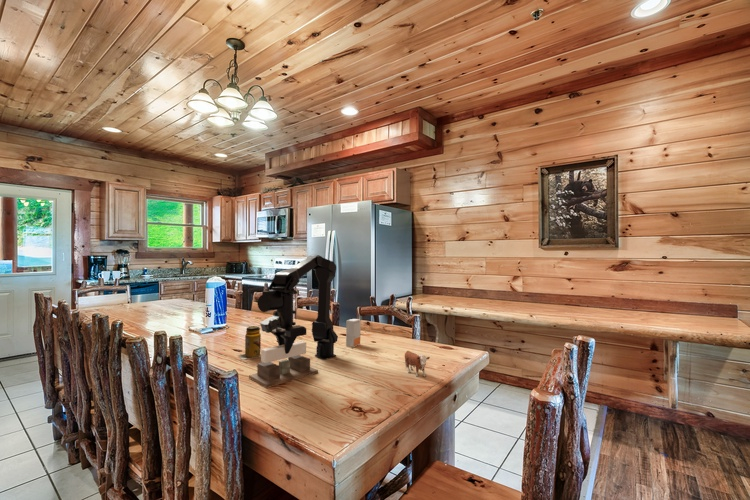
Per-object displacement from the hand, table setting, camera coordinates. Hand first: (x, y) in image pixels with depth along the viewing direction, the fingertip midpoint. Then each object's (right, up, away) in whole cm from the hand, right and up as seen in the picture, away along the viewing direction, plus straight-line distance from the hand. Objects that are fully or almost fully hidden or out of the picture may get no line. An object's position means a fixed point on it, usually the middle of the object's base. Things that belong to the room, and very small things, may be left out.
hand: (284, 352), depth 121 cm
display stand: (0, -8, 0) cm, 8 cm away
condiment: (-20, -9, +22) cm, 31 cm away
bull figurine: (+47, -9, +2) cm, 47 cm away
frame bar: (0, -2, 0) cm, 2 cm away
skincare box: (+22, -9, +40) cm, 47 cm away
